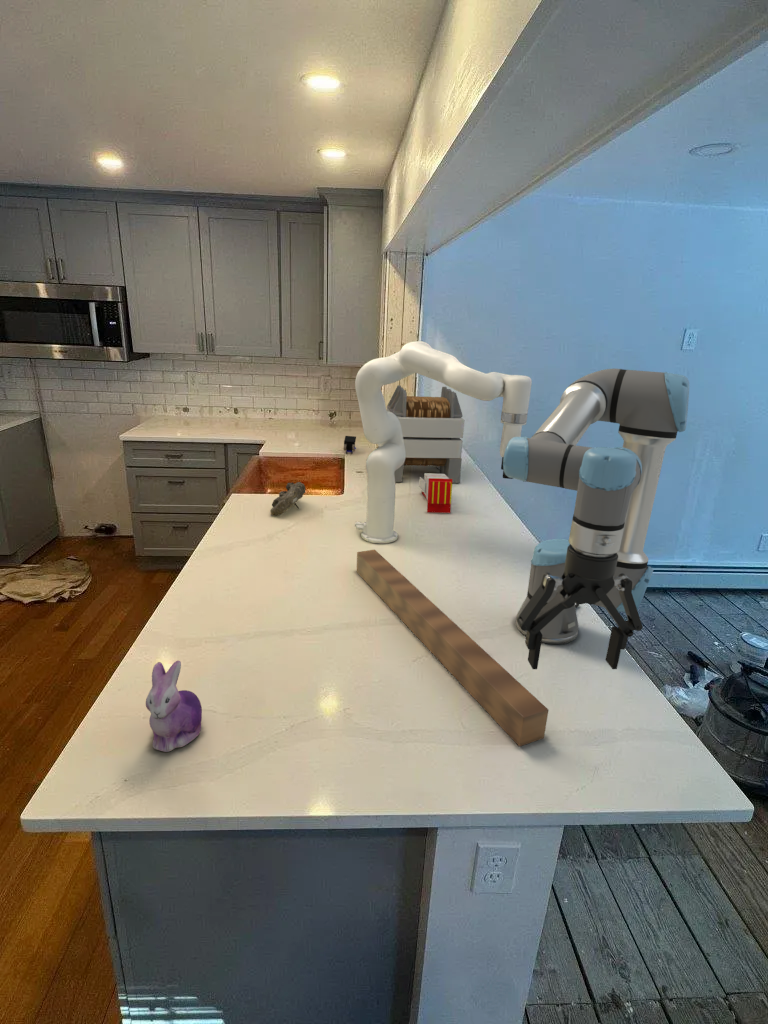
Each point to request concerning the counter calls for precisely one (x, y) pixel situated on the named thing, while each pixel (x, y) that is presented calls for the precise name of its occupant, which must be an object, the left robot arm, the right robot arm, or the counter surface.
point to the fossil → (288, 498)
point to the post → (457, 652)
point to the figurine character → (349, 444)
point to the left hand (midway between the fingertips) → (506, 473)
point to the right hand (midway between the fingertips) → (571, 664)
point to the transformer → (430, 431)
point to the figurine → (172, 710)
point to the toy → (437, 492)
